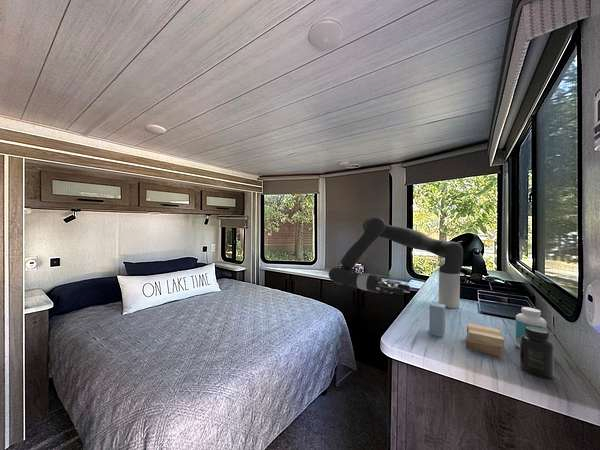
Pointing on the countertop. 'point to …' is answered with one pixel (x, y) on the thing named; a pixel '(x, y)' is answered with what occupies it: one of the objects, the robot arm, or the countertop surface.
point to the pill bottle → (528, 322)
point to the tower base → (483, 348)
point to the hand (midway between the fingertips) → (406, 290)
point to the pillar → (437, 319)
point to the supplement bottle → (537, 352)
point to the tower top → (485, 335)
